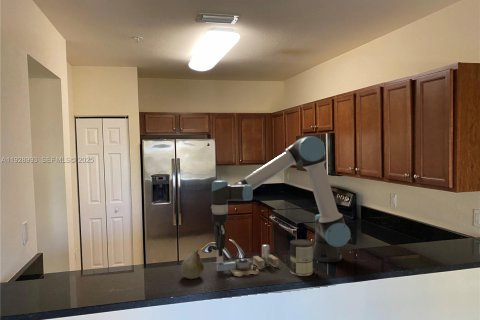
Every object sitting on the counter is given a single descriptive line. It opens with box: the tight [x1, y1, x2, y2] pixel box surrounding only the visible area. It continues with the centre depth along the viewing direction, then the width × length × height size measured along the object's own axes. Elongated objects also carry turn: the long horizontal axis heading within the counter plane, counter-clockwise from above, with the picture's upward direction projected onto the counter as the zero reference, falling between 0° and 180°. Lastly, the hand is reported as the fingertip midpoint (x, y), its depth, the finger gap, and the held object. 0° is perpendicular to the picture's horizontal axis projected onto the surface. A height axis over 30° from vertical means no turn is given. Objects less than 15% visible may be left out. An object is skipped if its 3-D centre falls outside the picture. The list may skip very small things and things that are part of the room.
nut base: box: [229, 265, 260, 277], centre depth 164 cm, size 11×11×3 cm
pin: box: [261, 244, 270, 266], centre depth 172 cm, size 4×4×10 cm
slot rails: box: [252, 254, 279, 270], centre depth 172 cm, size 10×8×4 cm
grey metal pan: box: [216, 257, 253, 272], centre depth 162 cm, size 16×8×4 cm, turn 109°
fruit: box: [180, 249, 205, 280], centre depth 156 cm, size 10×9×12 cm
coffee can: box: [289, 238, 314, 277], centre depth 162 cm, size 10×10×14 cm
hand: (219, 262), depth 168 cm, fingers closed
